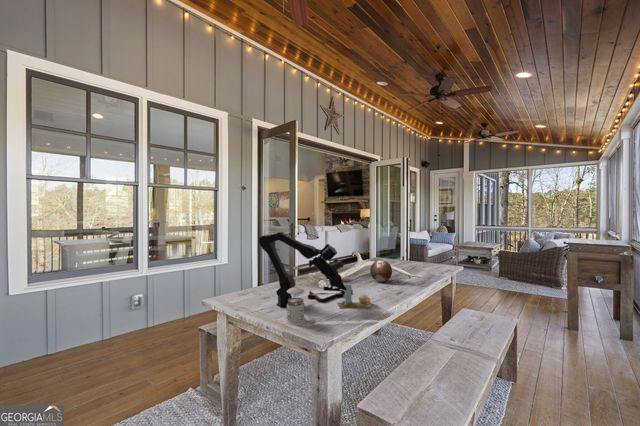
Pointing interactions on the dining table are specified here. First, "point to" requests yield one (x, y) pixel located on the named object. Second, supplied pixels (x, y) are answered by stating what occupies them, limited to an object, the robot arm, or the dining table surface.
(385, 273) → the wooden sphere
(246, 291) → the dining table surface
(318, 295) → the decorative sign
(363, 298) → the rack
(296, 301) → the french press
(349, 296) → the plank
